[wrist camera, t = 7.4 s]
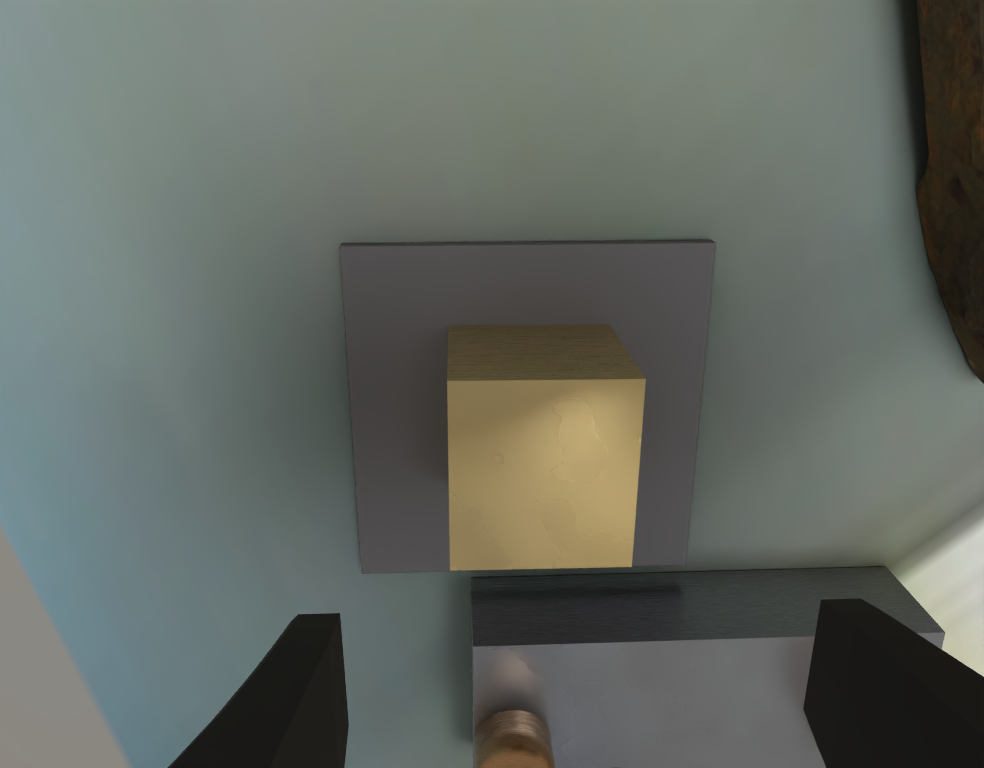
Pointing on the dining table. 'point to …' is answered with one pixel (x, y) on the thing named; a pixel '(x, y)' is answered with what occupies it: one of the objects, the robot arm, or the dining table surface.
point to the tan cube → (542, 447)
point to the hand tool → (955, 163)
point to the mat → (513, 301)
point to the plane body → (658, 665)
